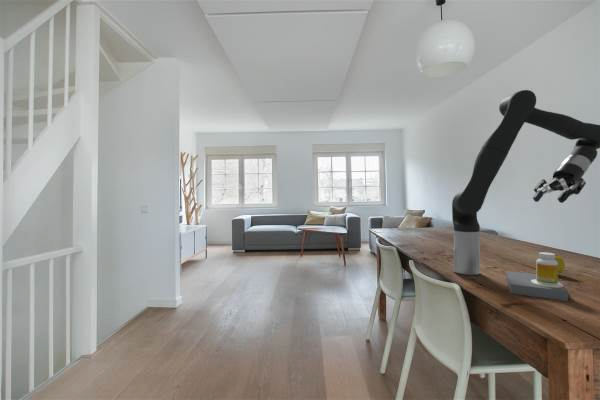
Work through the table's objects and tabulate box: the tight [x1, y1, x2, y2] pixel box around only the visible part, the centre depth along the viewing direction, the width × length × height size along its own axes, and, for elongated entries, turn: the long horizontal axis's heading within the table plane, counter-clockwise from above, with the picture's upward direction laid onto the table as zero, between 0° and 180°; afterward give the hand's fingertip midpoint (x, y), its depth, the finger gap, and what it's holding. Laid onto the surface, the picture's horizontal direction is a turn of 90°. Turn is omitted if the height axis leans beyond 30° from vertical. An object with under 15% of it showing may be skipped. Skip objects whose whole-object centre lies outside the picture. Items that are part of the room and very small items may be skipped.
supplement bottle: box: [535, 251, 559, 285], centre depth 94 cm, size 5×5×10 cm
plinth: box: [505, 270, 569, 302], centre depth 98 cm, size 14×18×3 cm
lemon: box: [554, 254, 566, 275], centre depth 113 cm, size 6×6×8 cm
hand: (547, 200), depth 105 cm, fingers open, 8 cm apart
